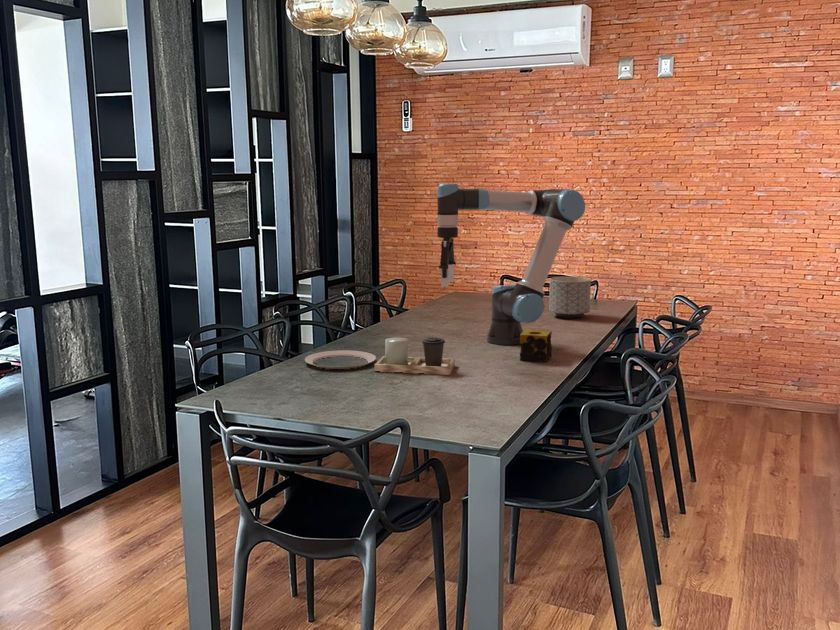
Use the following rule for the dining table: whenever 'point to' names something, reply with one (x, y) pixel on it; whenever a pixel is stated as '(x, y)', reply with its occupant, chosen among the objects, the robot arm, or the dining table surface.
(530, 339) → the yellow die
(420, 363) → the birch caddy
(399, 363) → the pale grey-green cylinder
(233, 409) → the dining table surface
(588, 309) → the planter
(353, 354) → the plate
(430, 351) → the coffee cup
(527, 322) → the robot arm
